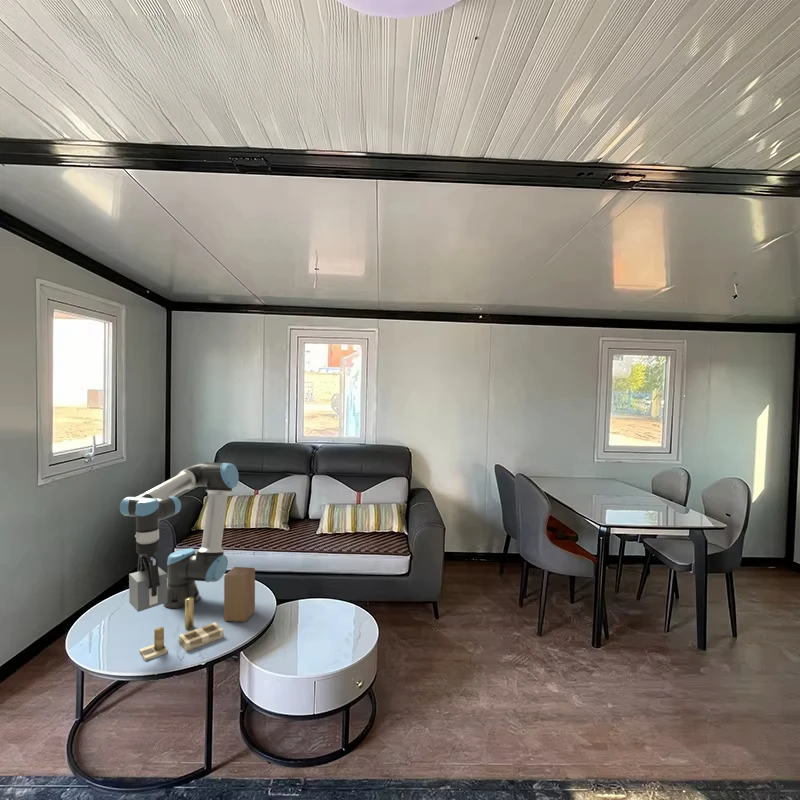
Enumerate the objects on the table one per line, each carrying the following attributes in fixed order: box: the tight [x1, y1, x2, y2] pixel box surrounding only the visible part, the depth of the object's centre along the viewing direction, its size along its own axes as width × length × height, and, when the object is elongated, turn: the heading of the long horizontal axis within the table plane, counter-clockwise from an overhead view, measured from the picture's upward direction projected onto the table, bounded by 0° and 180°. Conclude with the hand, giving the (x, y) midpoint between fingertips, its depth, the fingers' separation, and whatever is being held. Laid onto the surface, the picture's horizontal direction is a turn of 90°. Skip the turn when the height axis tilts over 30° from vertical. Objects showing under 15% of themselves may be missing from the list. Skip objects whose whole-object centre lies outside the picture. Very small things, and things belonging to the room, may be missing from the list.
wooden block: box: [223, 566, 256, 623], centre depth 192 cm, size 10×10×20 cm
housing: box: [128, 566, 168, 613], centre depth 167 cm, size 10×10×11 cm
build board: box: [178, 621, 224, 652], centre depth 174 cm, size 8×14×3 cm, turn 135°
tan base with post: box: [138, 626, 169, 662], centre depth 166 cm, size 8×8×8 cm
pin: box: [184, 597, 195, 630], centre depth 183 cm, size 3×3×12 cm
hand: (148, 599), depth 167 cm, fingers closed on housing, 10 cm apart
